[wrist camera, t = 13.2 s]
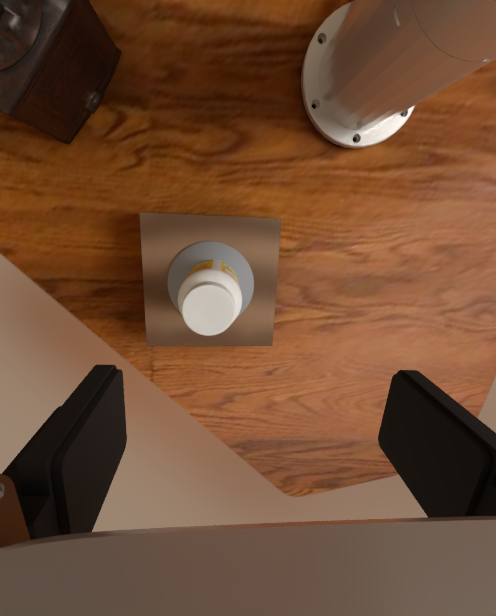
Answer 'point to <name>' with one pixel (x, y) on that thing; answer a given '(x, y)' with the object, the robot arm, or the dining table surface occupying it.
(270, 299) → the walnut plinth
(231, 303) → the supplement bottle
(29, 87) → the pepper mill
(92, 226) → the dining table surface
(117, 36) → the dining table surface
